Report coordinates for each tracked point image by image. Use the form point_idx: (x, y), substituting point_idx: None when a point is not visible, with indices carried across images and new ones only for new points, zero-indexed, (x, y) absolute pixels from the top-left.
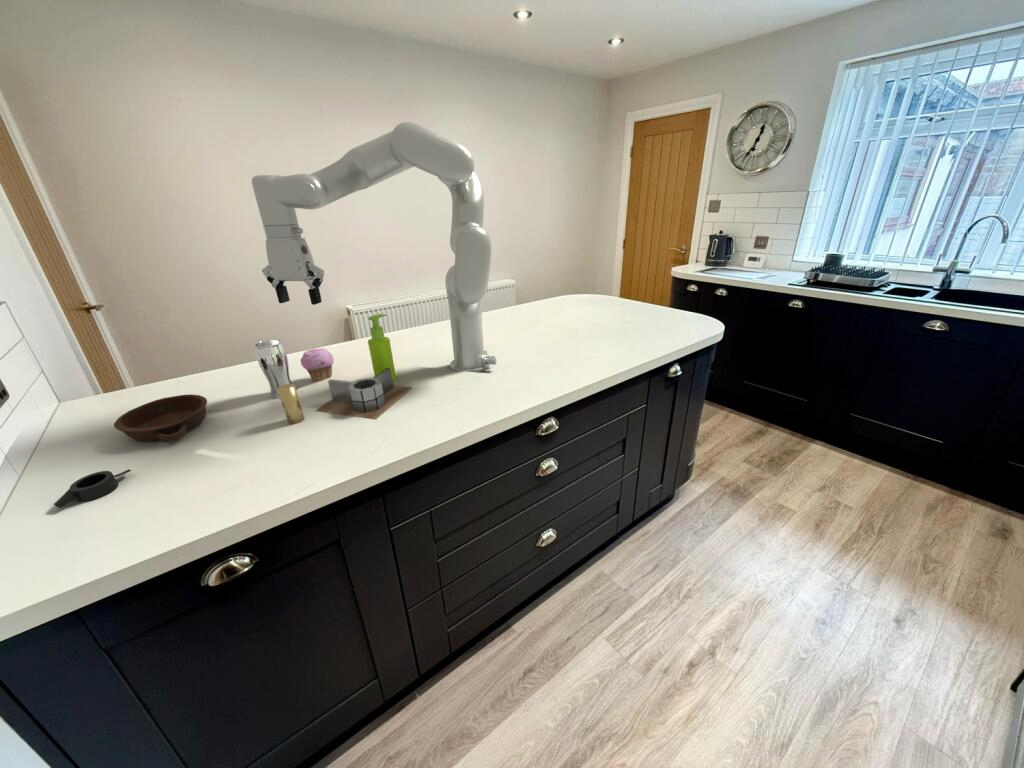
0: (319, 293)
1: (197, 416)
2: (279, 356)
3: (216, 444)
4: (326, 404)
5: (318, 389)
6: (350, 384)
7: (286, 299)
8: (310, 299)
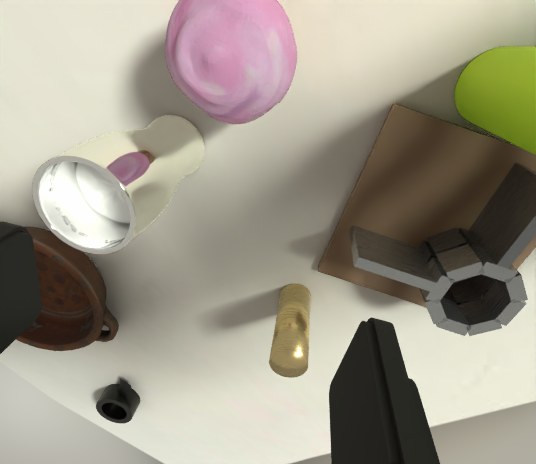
0: (426, 441)
1: (100, 299)
2: (158, 213)
3: (186, 334)
4: (336, 246)
5: (267, 131)
6: (430, 296)
7: (22, 274)
8: (330, 426)
